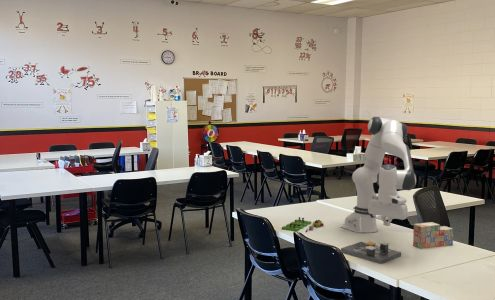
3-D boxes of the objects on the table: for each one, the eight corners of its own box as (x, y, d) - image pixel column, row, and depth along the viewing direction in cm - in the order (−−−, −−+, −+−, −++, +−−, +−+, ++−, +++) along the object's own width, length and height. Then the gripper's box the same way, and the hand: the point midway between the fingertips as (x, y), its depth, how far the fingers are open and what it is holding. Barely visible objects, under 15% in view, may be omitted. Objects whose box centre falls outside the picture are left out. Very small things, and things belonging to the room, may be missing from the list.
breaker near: (365, 253, 239) (365, 247, 239) (369, 252, 241) (369, 245, 241) (371, 255, 236) (371, 248, 236) (375, 254, 239) (376, 247, 238)
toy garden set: (296, 222, 313) (296, 215, 312) (324, 226, 303) (324, 218, 303) (281, 230, 293) (281, 222, 292) (311, 234, 283) (311, 226, 283)
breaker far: (379, 249, 247) (379, 242, 247) (382, 247, 249) (383, 241, 249) (385, 250, 244) (385, 244, 244) (389, 249, 247) (389, 242, 246)
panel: (340, 252, 249) (340, 248, 249) (361, 245, 261) (361, 241, 261) (381, 263, 231) (381, 259, 231) (401, 256, 243) (401, 251, 243)
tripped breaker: (365, 249, 246) (365, 243, 246) (369, 248, 248) (369, 241, 248) (371, 251, 243) (371, 244, 243) (375, 249, 246) (375, 243, 245)
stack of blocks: (444, 242, 268) (445, 220, 267) (452, 245, 263) (454, 223, 261) (412, 245, 261) (413, 223, 260) (420, 249, 255) (421, 226, 254)
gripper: (365, 195, 243) (365, 222, 244) (402, 201, 228) (402, 230, 229) (372, 194, 247) (372, 220, 248) (409, 199, 232) (408, 228, 233)
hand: (386, 225), depth 238 cm, fingers closed
